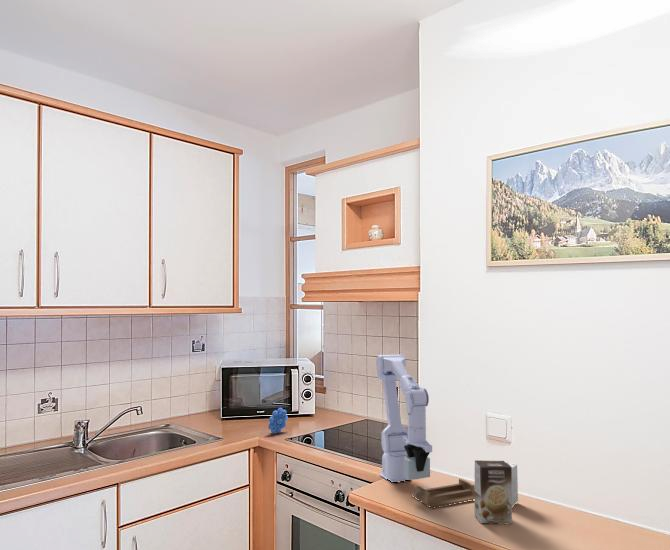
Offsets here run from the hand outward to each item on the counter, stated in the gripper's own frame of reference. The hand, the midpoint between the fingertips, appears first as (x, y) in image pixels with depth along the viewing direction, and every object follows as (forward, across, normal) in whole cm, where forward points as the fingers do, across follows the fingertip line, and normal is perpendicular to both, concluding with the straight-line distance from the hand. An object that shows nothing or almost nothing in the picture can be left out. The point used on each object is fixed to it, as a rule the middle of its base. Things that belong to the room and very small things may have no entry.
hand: (417, 469), depth 165 cm
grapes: (+9, -97, -18) cm, 99 cm away
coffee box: (+9, +23, +11) cm, 27 cm away
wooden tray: (+9, +4, +8) cm, 13 cm away
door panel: (+2, 0, 0) cm, 3 cm away
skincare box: (+9, +16, +23) cm, 29 cm away
